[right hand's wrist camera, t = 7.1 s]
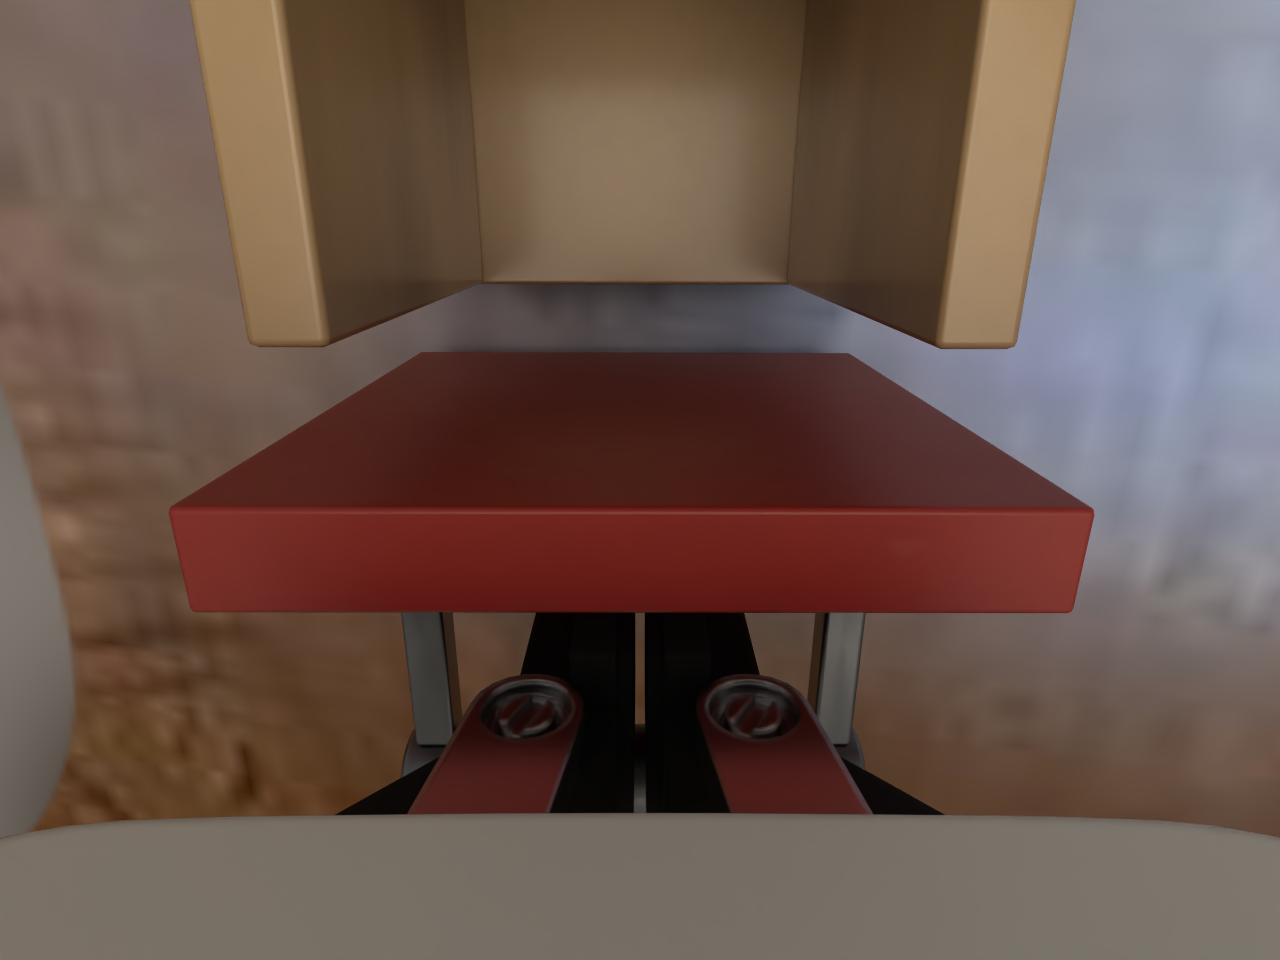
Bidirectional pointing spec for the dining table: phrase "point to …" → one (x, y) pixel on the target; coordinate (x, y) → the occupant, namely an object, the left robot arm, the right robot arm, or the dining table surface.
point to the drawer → (632, 254)
